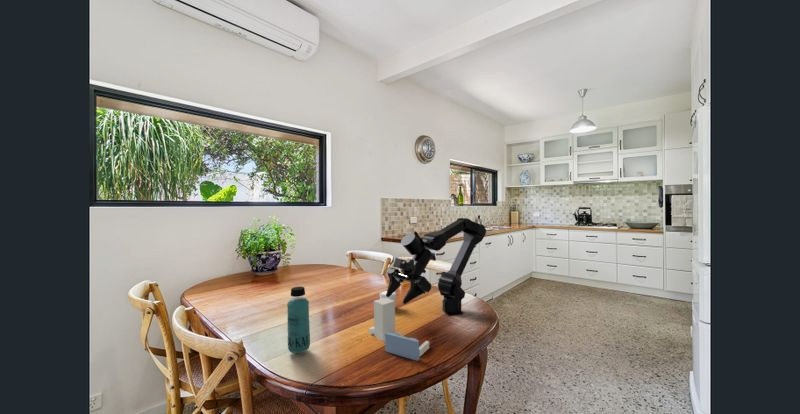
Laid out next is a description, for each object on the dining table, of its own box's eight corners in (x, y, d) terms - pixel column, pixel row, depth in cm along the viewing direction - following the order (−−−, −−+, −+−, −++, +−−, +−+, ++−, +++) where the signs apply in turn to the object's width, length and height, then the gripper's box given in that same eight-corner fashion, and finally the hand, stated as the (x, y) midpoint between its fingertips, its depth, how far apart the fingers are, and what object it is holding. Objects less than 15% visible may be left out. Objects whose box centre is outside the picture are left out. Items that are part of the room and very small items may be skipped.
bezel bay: (400, 340, 105) (399, 323, 105) (430, 348, 99) (430, 330, 99) (385, 351, 98) (385, 333, 97) (417, 360, 92) (417, 342, 92)
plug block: (386, 331, 111) (385, 297, 111) (395, 336, 107) (394, 301, 107) (374, 336, 108) (373, 300, 108) (383, 341, 104) (382, 304, 104)
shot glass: (394, 313, 129) (394, 295, 128) (377, 311, 130) (377, 294, 130) (398, 306, 135) (397, 290, 135) (382, 305, 137) (381, 289, 136)
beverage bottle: (290, 348, 101) (288, 284, 100) (312, 347, 101) (310, 284, 100) (285, 359, 94) (282, 291, 93) (308, 357, 95) (306, 290, 94)
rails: (383, 329, 114) (383, 323, 114) (401, 338, 106) (401, 332, 106) (369, 333, 110) (369, 328, 110) (386, 344, 102) (386, 338, 102)
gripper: (390, 245, 120) (365, 280, 114) (424, 252, 105) (398, 293, 99) (406, 263, 125) (384, 298, 119) (441, 272, 111) (418, 312, 104)
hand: (395, 299), depth 110 cm, fingers open, 9 cm apart
